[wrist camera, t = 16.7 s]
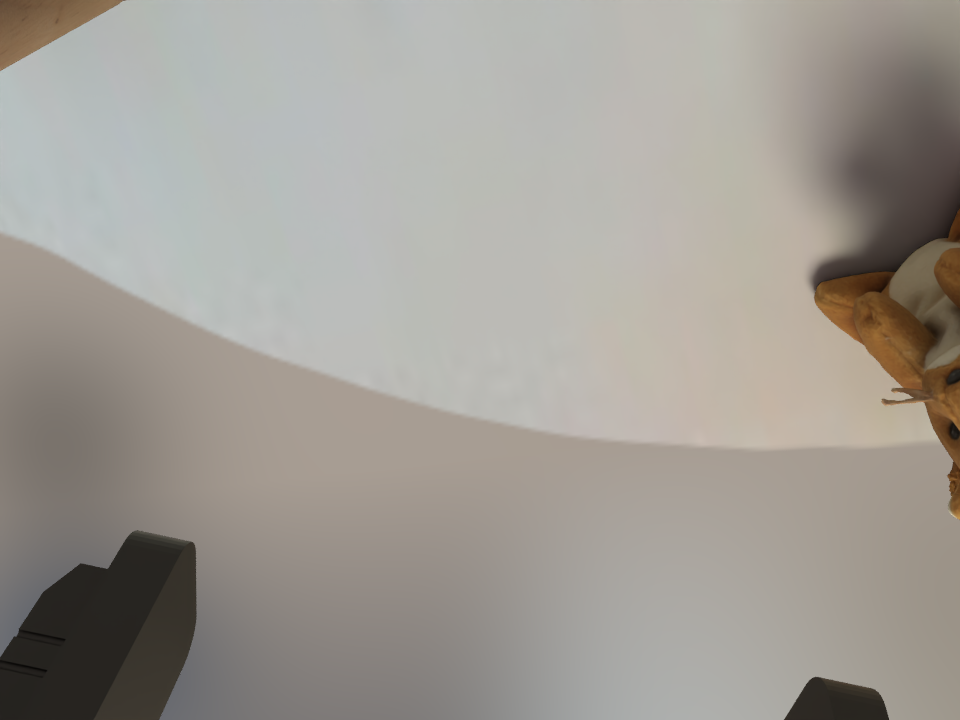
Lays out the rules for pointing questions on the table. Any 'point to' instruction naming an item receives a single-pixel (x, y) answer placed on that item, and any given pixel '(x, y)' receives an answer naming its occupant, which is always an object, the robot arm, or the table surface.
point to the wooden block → (41, 23)
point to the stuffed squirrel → (911, 332)
